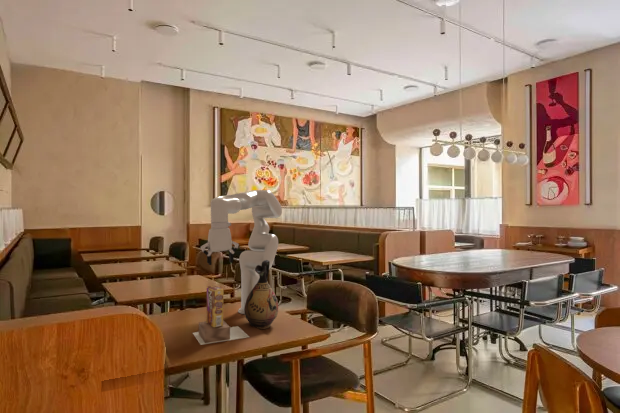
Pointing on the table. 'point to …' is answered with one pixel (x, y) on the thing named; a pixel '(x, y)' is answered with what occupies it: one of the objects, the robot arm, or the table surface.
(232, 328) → the baseplate
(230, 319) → the table surface
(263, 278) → the ceramic jug
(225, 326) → the walnut block
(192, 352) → the table surface
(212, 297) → the candy box
